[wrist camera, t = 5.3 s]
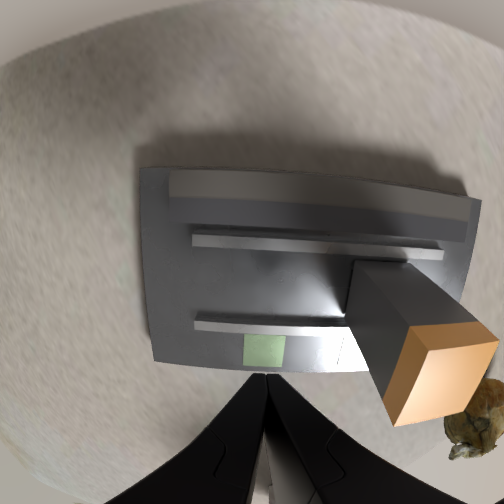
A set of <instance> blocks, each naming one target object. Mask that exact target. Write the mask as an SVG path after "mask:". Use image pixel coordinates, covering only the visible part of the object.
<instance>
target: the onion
mask: <svg viewBox="0 0 504 504" xmlns="http://www.w3.org/2000/svg"><path fill="white" fill-rule="evenodd" d="M444 428H445V433H446V435H447V437H448V438H449V439H450V440H451V442H452V443H454V444H455V445H454V446H453V447H452V449H451V452H450V454H449V459H450V460H456V459H458V458H461V457H464V458H474V457H475V458H477V457H482V456H483V455H484V454H486V453H488V452H490V451H491V450H493V449H494V448H495V447H497V445H495V442H496V441H497V439H498V438H499V437H500V436H501V435H502V434H503V433H504V383H503V382H501V381H499V380H496V379H490V378H482V379H481V381H480V383H479V385H478V387H477V389H476V390H475V392H474V394H473V396H472V397H471V399H470V401H469V403H468V404H467V406H466V408H465V409H464V411H462V412H459V413H455V414H451V415H448V416H444ZM457 443H462V444H461V445H456V444H457Z"/></svg>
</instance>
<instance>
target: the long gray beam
mask: <svg viewBox="0 0 504 504" xmlns="http://www.w3.org/2000/svg"><path fill="white" fill-rule="evenodd" d="M471 201H472V200H471V199H468V198H464V197H461V196H456V195H451V194H446V193H440V192H435V191H429V190H424V189H418V188H412V187H406V186H399V185H393V184H386V183H379V182H371V181H363V180H355V179H347V178H338V177H328V176H318V175H307V174H295V173H281V172H266V171H247V170H221V169H172V170H169V222H173V223H198V224H220V225H240V226H259V227H276V228H292V229H308V230H323V231H337V232H350V233H363V234H376V235H388V236H399V237H411V238H422V239H432V240H442V241H452V242H462V243H465V238H466V232H467V227H468V221H469V215H470V208H471Z"/></svg>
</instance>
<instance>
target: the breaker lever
mask: <svg viewBox="0 0 504 504" xmlns="http://www.w3.org/2000/svg"><path fill="white" fill-rule="evenodd" d="M344 318H345V320H346V323H347V325H348V327H349V329H350V331H351V333H352V335H353V337H354V339H355V341H356V343H357V346H358V348H359V350H360V352H361V354H362V356H363V358H364V361H365V363H366V365H367V367H368V369H369V372H370V374H371V376H372V378H373V380H374V383H375V385H376V387H377V389H378V392H379V394H380V396H381V399H382V401H383V403H384V406H385V408H386V410H387V413H388V415H389V417H390V420H391V422H392V425H393V427H395V426H401V425H407V424H412V423H417V422H422V421H427V420H431V419H435V418H440V417H444V416H448V415H451V414H455V413H459V412H462V411H464V409H465V408H466V406H467V404H468V403H469V401H470V399H471V397H472V396H473V394H474V392H475V390H476V389H477V387H478V385H479V383H480V381H481V379H482V377H483V375H484V373H485V371H486V369H487V367H488V365H489V363H490V361H491V359H492V357H493V355H494V353H495V350H496V348H497V346H498V344H499V341H500V340H499V339H498V338H497V337H496V336H494V335H493V334H492V333H491V332H490V331H489V330H488V329H487V328H486V327H485V326H484V325H483V324H482V323H481V322H479V321H478V320H477V319H476V318H475V317H474V316H473V315H472V314H471V313H469V312H468V311H467V310H466V309H465V308H464V307H463V306H462V305H460V304H459V303H458V302H457V301H456V300H455V299H453V298H452V297H451V296H450V295H449V294H448V293H446V292H445V291H444V290H443V289H442V288H440V287H439V286H438V285H437V284H436V283H434V282H433V281H432V280H431V279H430V278H428V277H427V276H426V275H425V274H423V273H422V272H421V271H420V270H418V269H417V268H416V267H415V266H413V265H412V264H411V263H400V262H381V261H362V260H355V263H354V269H353V275H352V280H351V286H350V291H349V297H348V302H347V307H346V312H345V317H344Z"/></svg>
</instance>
